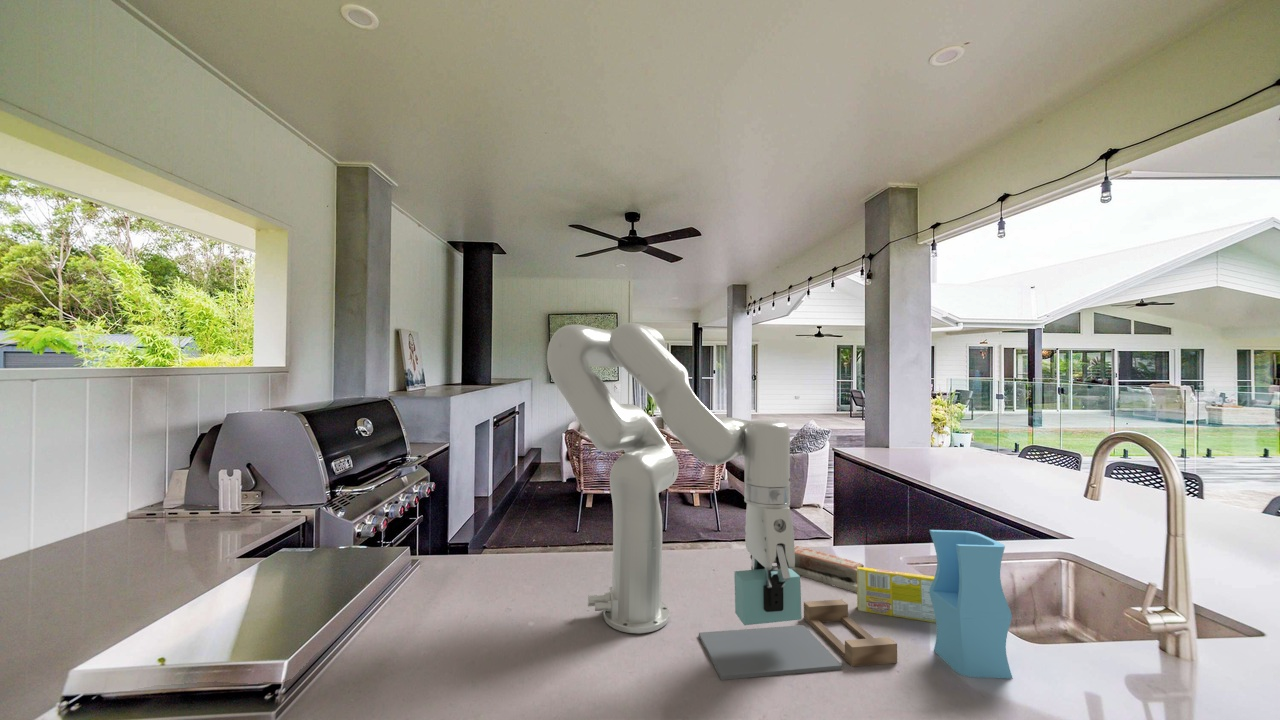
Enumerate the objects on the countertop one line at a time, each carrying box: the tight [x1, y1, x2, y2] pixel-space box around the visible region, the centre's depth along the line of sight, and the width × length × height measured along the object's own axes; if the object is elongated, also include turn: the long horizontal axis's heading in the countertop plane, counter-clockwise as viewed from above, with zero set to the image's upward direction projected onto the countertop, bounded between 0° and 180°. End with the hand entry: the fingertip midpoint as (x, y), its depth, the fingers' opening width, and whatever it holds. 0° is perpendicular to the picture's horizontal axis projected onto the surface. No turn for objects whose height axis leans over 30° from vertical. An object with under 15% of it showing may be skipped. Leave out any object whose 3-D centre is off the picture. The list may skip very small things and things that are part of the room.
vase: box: [929, 529, 1013, 680], centre depth 75 cm, size 8×8×20 cm
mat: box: [698, 624, 843, 681], centre depth 76 cm, size 20×12×1 cm, turn 99°
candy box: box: [856, 566, 937, 624], centre depth 89 cm, size 16×2×8 cm, turn 71°
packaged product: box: [792, 545, 865, 593], centre depth 108 cm, size 18×5×10 cm
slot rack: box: [803, 598, 898, 668], centre depth 81 cm, size 8×15×3 cm, turn 9°
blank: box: [733, 568, 803, 626], centre depth 77 cm, size 4×10×7 cm, turn 99°
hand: (767, 602), depth 77 cm, fingers closed on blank, 4 cm apart
